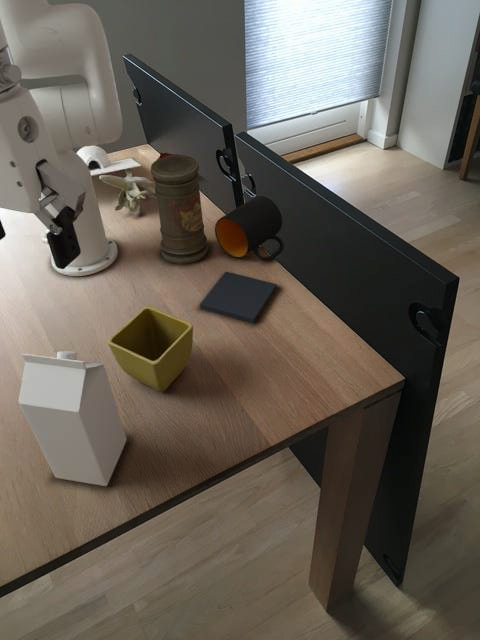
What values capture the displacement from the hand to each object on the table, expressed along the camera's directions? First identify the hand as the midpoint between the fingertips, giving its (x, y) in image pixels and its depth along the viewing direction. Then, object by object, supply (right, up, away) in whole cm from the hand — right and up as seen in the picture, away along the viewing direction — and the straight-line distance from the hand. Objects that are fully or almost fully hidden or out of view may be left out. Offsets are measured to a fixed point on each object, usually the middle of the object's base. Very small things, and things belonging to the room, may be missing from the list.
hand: (30, 251), depth 55 cm
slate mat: (+21, -3, +39) cm, 44 cm away
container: (+11, +6, +50) cm, 52 cm away
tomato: (+6, +31, +67) cm, 74 cm away
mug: (+28, +12, +51) cm, 59 cm away
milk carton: (+2, -25, +16) cm, 30 cm away
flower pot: (+9, -16, +26) cm, 32 cm away
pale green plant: (-2, +19, +65) cm, 67 cm away
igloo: (-13, +27, +70) cm, 76 cm away
